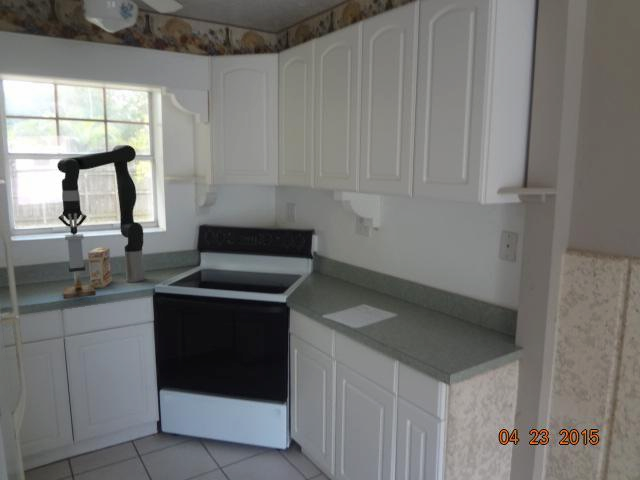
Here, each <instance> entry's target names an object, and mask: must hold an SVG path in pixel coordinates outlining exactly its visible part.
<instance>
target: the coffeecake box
mask: <svg viewBox="0 0 640 480" xmlns="http://www.w3.org/2000/svg"><path fill="white" fill-rule="evenodd" d="M110 250H111V249H110V247H109V246H108V247H106V246H105V247H96V248H94V249H92V250H90V251H88V252H87V255H88V265H89V266H88V268H89V269H88V270H89V279H90V281H89V285H93V286H94V289H101V288H103V289H104V288H105V287H106V286H107V285H109V284H110V283H111V282H113V279H112V267H111V255H110V254H111V253H110Z"/></svg>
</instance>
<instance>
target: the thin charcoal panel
mask: <svg viewBox="0 0 640 480" xmlns="http://www.w3.org/2000/svg"><path fill="white" fill-rule="evenodd" d="M75 271H81V272H84V271H86V265H85V264H84V267H82V268H71V269H70V265H69V266H68V272H69V273H74V272H75Z"/></svg>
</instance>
